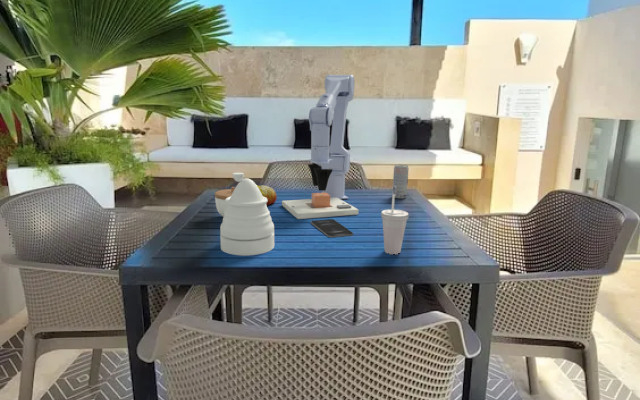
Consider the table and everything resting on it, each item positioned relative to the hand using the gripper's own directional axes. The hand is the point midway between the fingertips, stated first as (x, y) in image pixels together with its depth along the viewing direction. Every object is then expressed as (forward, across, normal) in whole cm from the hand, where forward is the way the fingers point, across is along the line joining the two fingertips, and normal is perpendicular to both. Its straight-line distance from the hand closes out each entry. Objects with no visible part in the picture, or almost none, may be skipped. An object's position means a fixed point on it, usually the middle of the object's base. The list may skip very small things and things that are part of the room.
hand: (319, 187), depth 139 cm
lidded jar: (+8, -5, +28) cm, 29 cm away
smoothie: (+7, -42, -8) cm, 44 cm away
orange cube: (+7, 0, 0) cm, 7 cm away
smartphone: (+8, -21, +2) cm, 23 cm away
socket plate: (+7, 0, 0) cm, 7 cm away
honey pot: (+7, -32, +25) cm, 42 cm away
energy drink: (+8, +14, -34) cm, 38 cm away
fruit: (+8, +12, +18) cm, 23 cm away
